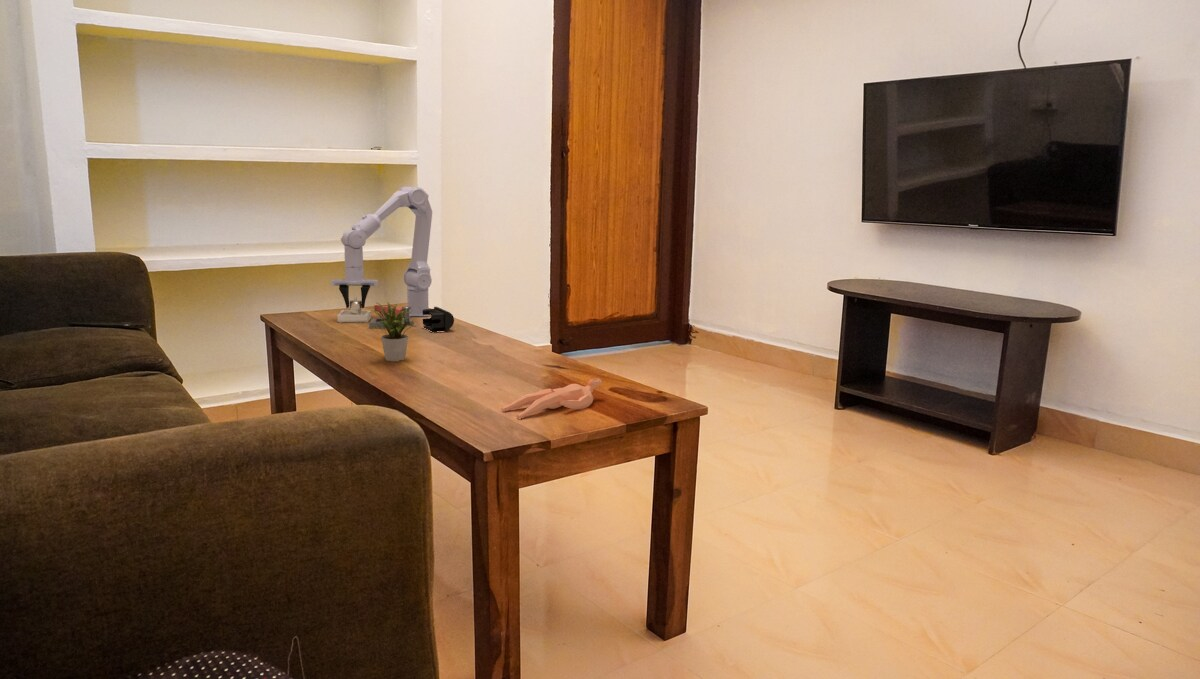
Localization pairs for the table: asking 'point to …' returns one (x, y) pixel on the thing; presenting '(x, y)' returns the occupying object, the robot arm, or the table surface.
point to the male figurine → (556, 398)
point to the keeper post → (406, 315)
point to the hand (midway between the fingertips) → (355, 307)
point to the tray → (354, 316)
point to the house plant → (394, 334)
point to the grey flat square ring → (376, 322)
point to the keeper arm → (397, 310)
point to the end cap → (438, 319)
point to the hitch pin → (355, 307)
